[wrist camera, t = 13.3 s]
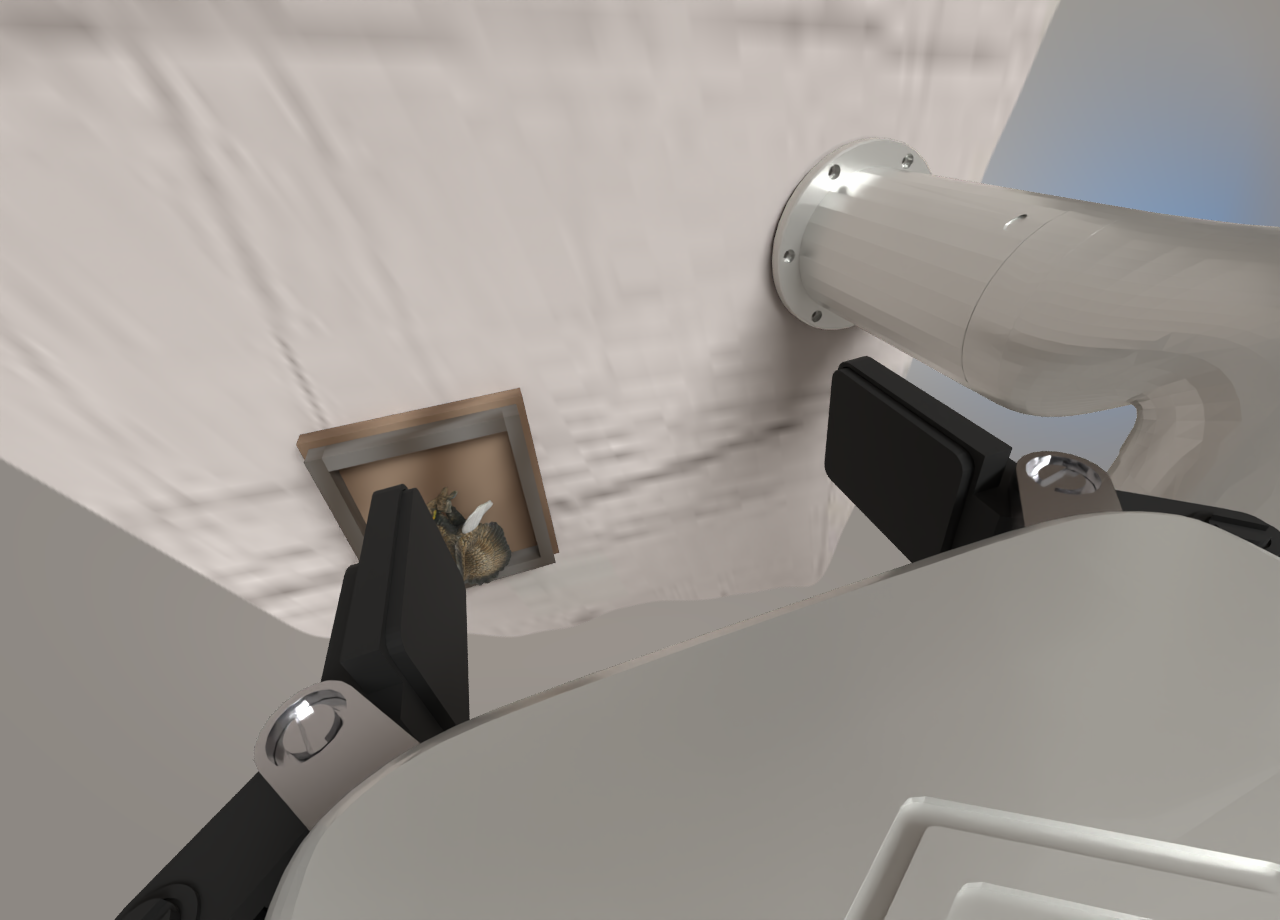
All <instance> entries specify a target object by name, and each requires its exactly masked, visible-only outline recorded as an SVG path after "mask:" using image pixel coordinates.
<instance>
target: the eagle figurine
mask: <svg viewBox="0 0 1280 920" xmlns="http://www.w3.org/2000/svg"><path fill="white" fill-rule="evenodd" d="M447 491H448V488H447V487H444V488H443V489H442V491H441V493H440V495H438V496H437V497H436V498H435V499H433V500H431V501H430V502H428V503H427V504H426V505H427V507H428V509H429V511H430V513H431V515H432V517H433V519H434V521H435V523H436V525H437V527H438V529H439V531H440V533H441V535H442V537H443V539H444V541H445V543H446V545H447V547H448V549H449V551H450V553H451V555H452V557H453V559H454V561H455V563H456V565H457V567H458V569H459V571H460V573H461V575H462V577H463V580H464V584H465V583H469V584H470V585H473V584H475V583H476V584H477V585H482V584H483V583H489V582H491V580H492V579H493V578H497V577H498V575H499V571H503V570H504V569H505V566H507V565H508V564H509V562H510V558H511V550H510V547H509V545H508V544H507V541H506V537H504V532H503V528H501V526H500V525H498V524H497V522H492V521H491V522H490V523H484V524H482V523H479V522H480V520H481V518H482V516H483V515H484V514H485V512H486V511H487V510H488V509H490V508H491V506H492V505H493V503H492V502H491V500H489V501H488V502H486V503H484V504H482V505H480V506H478V507H477V508H476V509H475V511H474V512H473V513H472V514H471V515H470V516H469V517H468V518H467V520H466V519H465V518H464V517H463V516H462V514H461V513H460V512H458V510H456V507H454V506H452V504H451V501H450V500H451V499H453V498H455V497H456V495H457V493H458V491H452V492H451V493H450V495H448V493H447ZM441 512H444V513H446V515H447V517H448V518H447V517H446V516H444V515H443V514H442V513H441Z"/></svg>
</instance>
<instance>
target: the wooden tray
mask: <svg viewBox="0 0 1280 920" xmlns="http://www.w3.org/2000/svg"><path fill="white" fill-rule="evenodd" d="M296 445H297V447H298V449H299V451H300V452H301V454H302V456H303V458H304V460H305V461H304V463H305V465H306V467H307V469H308V471H309V472H310V474H311V476H312V478H313V480H314V481H315V483H316V485H317V487H318V488H319V490H320V492H321V494H322V496H323V497H324V499H325V501H326V503H327V504H328V506H329V508H330V510H331V512H332V513H333V515H334V517H335V519H336V521H337V522H338V524H339V526H340V528H341V529H342V531H343V533H344V535H345V537H346V538H347V540H348V542H349V544H350V545H351V547H352V549H353V551H354V553H355V554H356V556H357V558H358V560H360V555H361V550H362V545H363V539H364V534H365V529H366V524H367V519H368V514H369V509H370V504H371V499H372V495H373V492H375V491H378V490H381V489H385V488H388V487H392V486H396V485H399V484H405V485H406V486H407V488H408V489H412V488H417V489H418V490H419V492H420V494H421V496H422V498H423V500H424V502H425V504H427V503H428V502H430V501H431V500H433V499H435V498H436V497H437V496H438V495H440V493H441V491H442V489H443V488H444V487H447V488H448V491H447V493H448V495H450V493H451V492H452V491H458V493H457V495H456V497H455V498H453V499H451V500H450V501H451V504H452V506H454V507H456V510H458V512H460V513H461V514H462V516H463V517H464V518H465V519H466V520H467V518H468V517H469V516H470V515H471V514H472V513H473V512H474V511H475V509H476V508H477V507H478V506H480V505H482V504H484V503H486V502H488V501H489V500H491V502H492V503H493V505H492V506H491V508H490V509H488V510H487V511H486V512H485V514H484V515H483V516H482V518H481V520H480V522H479V523H482V524H484V523H490V522H491V521H492V522H497V524H498V525H500V526H501V528H503V532H504V537H506V541H507V544H508V545H509V547H510V550H511V558H510V562H509V564H508V565H507V566H505V569H504V570H503V571H499V575H498V577H497V578H493V579H492V580H491V581H493V580H497V579H500V578H504V577H507V576H511V575H514V574H518V573H521V572H525V571H528V570H532V569H535V568H539V567H542V566H546V565H549V564H553V563H556V562H555V558H554V554H556V553H559V550H558V545H557V541H556V537H555V533H554V528H553V524H552V520H551V516H550V512H549V507H548V503H547V499H546V495H545V491H544V486H543V482H542V478H541V474H540V469H539V465H538V461H537V457H536V453H535V448H534V444H533V440H532V436H531V432H530V427H529V423H528V419H527V415H526V411H525V406H524V402H523V398H522V394H521V391H520V388H517V389H512V390H508V391H503V392H498V393H494V394H489V395H484V396H480V397H475V398H470V399H465V400H461V401H456V402H451V403H447V404H442V405H437V406H433V407H428V408H423V409H419V410H414V411H409V412H405V413H400V414H395V415H391V416H386V417H381V418H377V419H372V420H367V421H363V422H358V423H353V424H349V425H344V426H339V427H335V428H330V429H325V430H321V431H316V432H311V433H307V434H302V435H300V436H299V439H298V441H297V444H296ZM441 513H442V514H443V515H444V516H446V517H447V515H446V513H444V512H441ZM447 518H448V517H447ZM476 585H477V584H476V583H475V584H473V585H470V584H469V583H465V588H469V587H472V586H476Z"/></svg>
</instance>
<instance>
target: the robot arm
mask: <svg viewBox="0 0 1280 920" xmlns="http://www.w3.org/2000/svg"><path fill="white" fill-rule="evenodd" d="M772 269H773V278H774V282H775V286H776V290H777V293H778V295H779V297H780V299H781V301H782V303H783V304H784V306H785V307H786V308H787V309H788V310H789V311H790V313H791V314H793V315H794V316H795V317H797V318H798V319H800V320H801V321H803V322H804V323H806V324H808V325H810V326H812V327H815V328H820V329H824V330H839V329H844V328H848V327H852V326H855V325H856V326H858V327H860V328H861V329H863V330H865V331H867V332H868V333H870V334H872V335H874V336H876V337H877V338H879V339H881V340H883V341H885V342H886V343H888V344H890V345H892V346H893V347H895V348H897V349H899V350H901V351H902V352H904V353H906V354H908V355H910V356H911V357H913V358H915V359H917V360H919V361H921V362H922V363H924V364H926V365H927V366H929V367H931V368H933V369H935V370H936V371H938V372H940V373H942V374H944V375H945V376H947V377H949V378H951V379H952V380H954V381H956V382H958V383H960V384H962V385H963V386H965V387H967V388H969V389H971V390H973V391H975V392H977V393H978V394H980V395H982V396H984V397H986V398H987V399H989V400H991V401H993V402H995V403H996V404H998V405H1001V406H1003V407H1005V408H1007V409H1010V410H1013V411H1016V412H1019V413H1023V414H1028V415H1034V416H1041V417H1062V416H1073V415H1079V414H1087V413H1092V412H1097V411H1102V410H1107V409H1112V408H1117V407H1121V406H1126V405H1130V404H1132V405H1134V406H1135V408H1136V409H1137V419H1136V421H1135V424H1134V427H1133V429H1132V430H1131V432H1130V434H1129V435H1128V437H1127V439H1126V440H1125V442H1124V443H1123V445H1122V447H1121V448H1120V451H1119V455H1118V456H1117V458H1116V460H1115V461H1114V462H1113V464H1112V465H1111V467H1110V468H1109V470H1108V471H1107V472H1105V471H1104V470H1103V469H1102V468H1100V467H1099V466H1098V465H1096V464H1094V463H1092V462H1090V461H1088V460H1086V459H1084V458H1081V457H1078V456H1075V455H1072V454H1067V453H1062V452H1055V451H1040V452H1033V453H1030V454H1027V455H1024V456H1023V457H1021V458H1020V459H1019V460H1018V462H1017V463H1015V462H1014V461H1013V460H1011V459H1010V458H1009V456H1010V453H1011V450H1012V447H1011V446H1009V445H1008V444H1006V443H1004V442H1003V441H1001V440H999V439H998V438H996V437H995V436H993V435H992V434H990V433H989V432H987V431H985V430H984V429H982V428H981V427H979V426H977V425H976V424H974V423H973V422H971V421H970V420H968V419H967V418H965V417H963V416H962V415H960V414H959V413H957V412H956V411H954V410H952V409H951V408H949V407H948V406H946V405H945V404H943V403H941V402H940V401H938V400H936V399H935V398H934V397H932V396H930V395H929V394H927V393H926V392H924V391H923V390H921V389H919V388H918V387H916V386H915V385H913V384H912V383H910V382H908V381H907V380H905V379H904V378H902V377H901V376H899V375H897V374H896V373H894V372H893V371H891V370H890V369H888V368H886V367H885V366H883V365H882V364H880V363H879V362H877V361H875V360H874V359H872V358H871V357H868V356H864V357H860V358H856V359H853V360H849V361H846V362H843V363H841V364H840V365H839V367H838V370H837V371H835V372H834V374H833V377H832V386H831V397H830V408H829V419H828V430H827V441H826V452H825V470H826V473H827V475H828V477H829V478H830V479H831V481H832V482H833V483H834V484H835V485H836V486H837V487H838V488H839V489H840V490H841V491H842V492H843V493H844V494H845V495H846V496H847V497H848V498H849V499H850V500H851V501H852V502H853V503H854V504H855V505H856V506H857V507H858V508H859V509H860V510H861V511H862V512H863V513H864V514H865V515H866V516H867V517H868V518H869V519H870V520H871V522H872V523H874V524H875V526H876V527H877V528H878V529H879V530H880V531H881V532H882V533H883V534H884V535H885V536H886V537H887V538H888V539H889V540H890V541H891V542H892V543H893V544H894V545H895V546H896V547H897V548H898V549H899V550H900V551H901V552H902V553H903V554H904V555H905V556H906V557H907V558H908V559H909V560H910V561H911V562H912V563H911V564H908V565H905V566H902V567H899V568H896V569H893V570H890V571H887V572H884V573H881V574H879V575H875V576H872V577H869V578H866V579H863V580H861V581H858V582H855V583H852V584H849V585H846V586H843V587H840V588H837V589H834V590H831V591H828V592H826V593H822V594H820V595H817V596H814V597H811V598H808V599H805V600H802V601H799V602H796V603H793V604H790V605H787V606H785V607H782V608H779V609H776V610H773V611H770V612H767V613H765V614H761V615H759V616H756V617H753V618H750V619H747V620H745V621H741V622H738V623H736V624H733V625H730V626H727V627H724V628H721V629H718V630H715V631H712V632H709V633H706V634H704V635H701V636H698V637H695V638H692V639H690V640H687V641H684V642H681V643H678V644H675V645H672V646H670V647H667V648H664V649H661V650H658V651H655V652H652V653H650V654H647V655H644V656H641V657H638V658H635V659H632V660H629V661H627V662H624V663H621V664H618V665H615V666H612V667H610V668H607V669H604V670H601V671H598V672H596V673H592V674H590V675H587V676H584V677H581V678H579V679H576V680H573V681H570V682H567V683H565V684H562V685H559V686H557V687H554V688H551V689H548V690H546V691H543V692H540V693H538V694H535V695H533V696H530V697H527V698H524V699H521V700H519V701H516V702H513V703H511V704H508V705H505V706H502V707H500V708H498V709H495V710H492V711H490V712H488V713H485V714H483V715H480V716H478V717H476V718H473V719H471V720H470V719H469V687H468V686H469V684H468V653H467V652H468V650H467V615H466V589H465V584H464V580H463V577H462V575H461V573H460V571H459V569H458V567H457V565H456V563H455V561H454V559H453V557H452V555H451V553H450V551H449V549H448V547H447V545H446V543H445V541H444V539H443V537H442V535H441V533H440V531H439V529H438V527H437V525H436V523H435V521H434V519H433V517H432V515H431V513H430V511H429V509H428V507H427V505H426V504H425V502H424V500H423V498H422V496H421V494H420V492H419V490H418V489H417V488H412V489H408V488H407V486H406V485H405V484H399V485H396V486H392V487H388V488H385V489H381V490H378V491H375V492H373V495H372V499H371V504H370V509H369V514H368V519H367V524H366V529H365V534H364V539H363V545H362V550H361V555H360V560H359V563H358V564H354V565H351V566H349V567H348V568H347V570H346V572H345V575H344V579H343V584H342V588H341V593H340V597H339V602H338V606H337V611H336V615H335V620H334V624H333V629H332V633H331V638H330V643H329V647H328V652H327V656H326V661H325V665H324V670H323V675H322V679H321V682H320V683H316V684H313V685H311V686H309V687H307V688H305V689H303V690H301V691H299V692H297V693H296V694H294V695H293V696H292V697H290V698H289V699H288V700H286V701H285V702H284V703H283V704H282V705H281V706H280V707H279V708H278V709H277V710H276V711H275V712H274V713H273V714H272V715H271V716H270V717H269V719H268V720H267V722H266V723H265V725H264V726H263V728H262V730H261V731H260V733H259V736H258V739H257V741H256V744H255V747H254V762H255V764H256V767H257V769H258V773H256V774H255V776H254V777H253V778H252V779H251V780H250V781H249V782H248V783H247V784H246V785H245V786H244V787H243V788H242V789H241V790H240V791H239V792H238V793H237V794H236V795H235V796H234V797H233V798H232V799H231V800H230V801H229V802H228V803H227V804H226V805H225V806H224V807H223V808H222V809H221V810H220V811H219V812H218V813H217V814H216V815H215V816H214V817H213V818H212V819H211V820H210V822H208V823H207V825H205V827H204V828H202V830H201V831H200V832H199V833H198V834H197V835H196V836H195V837H194V838H193V839H192V840H191V841H190V842H189V843H188V844H187V845H186V846H185V847H184V848H183V849H182V850H181V851H180V852H179V853H178V854H177V855H176V856H175V857H174V858H173V859H172V860H171V861H170V862H169V863H168V864H167V865H166V866H165V867H164V868H163V869H162V870H161V871H160V872H159V873H158V874H157V875H156V876H155V877H154V878H153V880H152V881H150V883H149V884H148V885H147V886H146V887H145V888H144V889H143V890H142V891H141V892H140V893H139V894H138V895H137V896H136V897H135V898H134V899H133V900H132V901H131V902H130V903H129V904H128V905H127V906H126V907H125V908H124V909H123V911H122V912H121V913H120V914H119V915H118V916H117V917H116V919H115V920H1280V227H1272V226H1259V225H1245V224H1237V223H1229V222H1221V221H1213V220H1203V219H1196V218H1189V217H1182V216H1175V215H1168V214H1160V213H1153V212H1147V211H1142V210H1136V209H1130V208H1124V207H1118V206H1112V205H1105V204H1100V203H1094V202H1088V201H1082V200H1076V199H1070V198H1065V197H1059V196H1053V195H1047V194H1040V193H1035V192H1029V191H1024V190H1018V189H1012V188H1006V187H1000V186H994V185H988V184H983V183H977V182H971V181H965V180H959V179H953V178H947V177H942V176H936V175H932V173H931V171H930V168H929V166H928V164H927V162H926V161H925V160H924V158H923V157H922V156H921V155H920V154H919V152H918V151H917V150H915V149H914V148H912V147H911V146H909V145H907V144H906V143H904V142H900V141H897V140H893V139H886V138H868V139H860V140H857V141H854V142H851V143H849V144H846V145H844V146H841V147H840V148H838V149H837V150H835V151H833V152H832V153H830V154H829V155H827V156H826V157H825V158H823V159H822V160H821V161H820V162H819V163H818V164H817V165H816V166H814V167H813V168H812V169H811V170H810V171H809V173H808V174H807V175H806V176H805V178H804V179H803V180H802V181H801V182H800V184H799V185H798V186H797V188H796V189H795V191H794V193H793V194H792V196H791V198H790V199H789V201H788V203H787V205H786V207H785V209H784V212H783V214H782V216H781V219H780V221H779V224H778V228H777V231H776V235H775V239H774V245H773V254H772Z"/></svg>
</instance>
